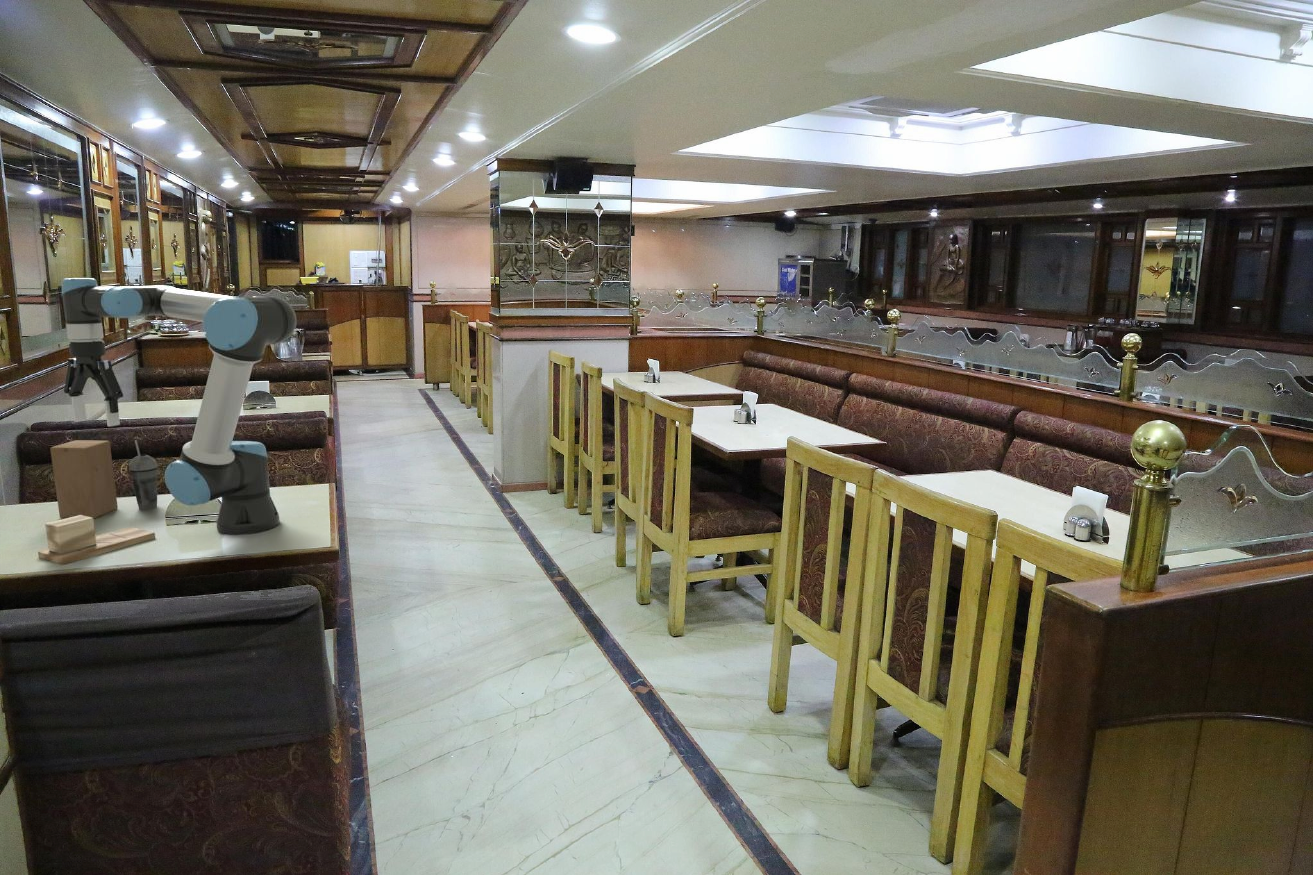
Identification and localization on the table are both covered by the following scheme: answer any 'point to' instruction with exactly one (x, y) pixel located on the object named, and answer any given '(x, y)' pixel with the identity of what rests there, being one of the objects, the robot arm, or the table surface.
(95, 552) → the board
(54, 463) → the wooden block
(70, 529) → the block
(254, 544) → the table surface
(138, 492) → the beverage cup
